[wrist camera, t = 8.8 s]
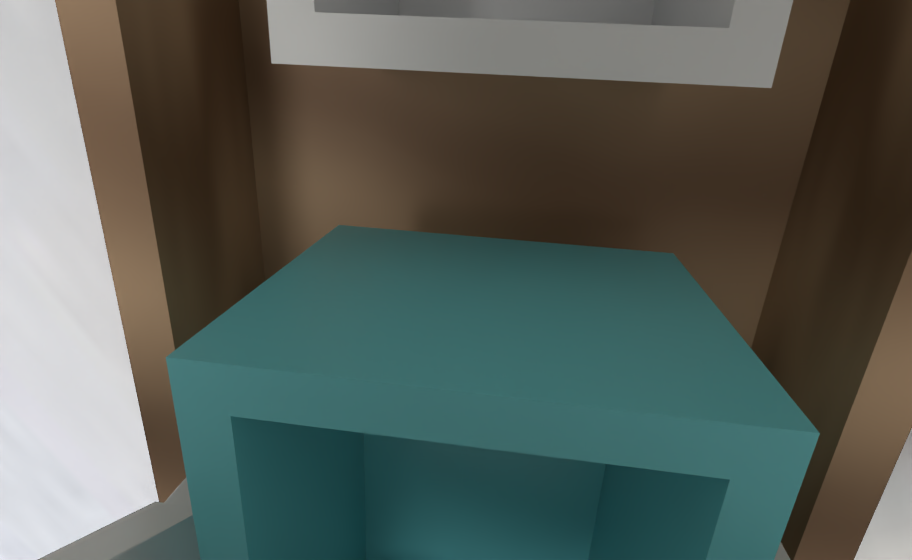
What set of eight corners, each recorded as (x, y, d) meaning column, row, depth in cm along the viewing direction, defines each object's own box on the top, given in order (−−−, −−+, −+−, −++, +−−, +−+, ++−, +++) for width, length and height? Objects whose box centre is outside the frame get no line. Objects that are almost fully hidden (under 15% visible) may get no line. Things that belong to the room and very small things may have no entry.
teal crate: (338, 224, 10) (166, 358, 5) (673, 253, 9) (819, 433, 5) (349, 562, 13) (247, 835, 8) (600, 601, 12) (643, 920, 8)
